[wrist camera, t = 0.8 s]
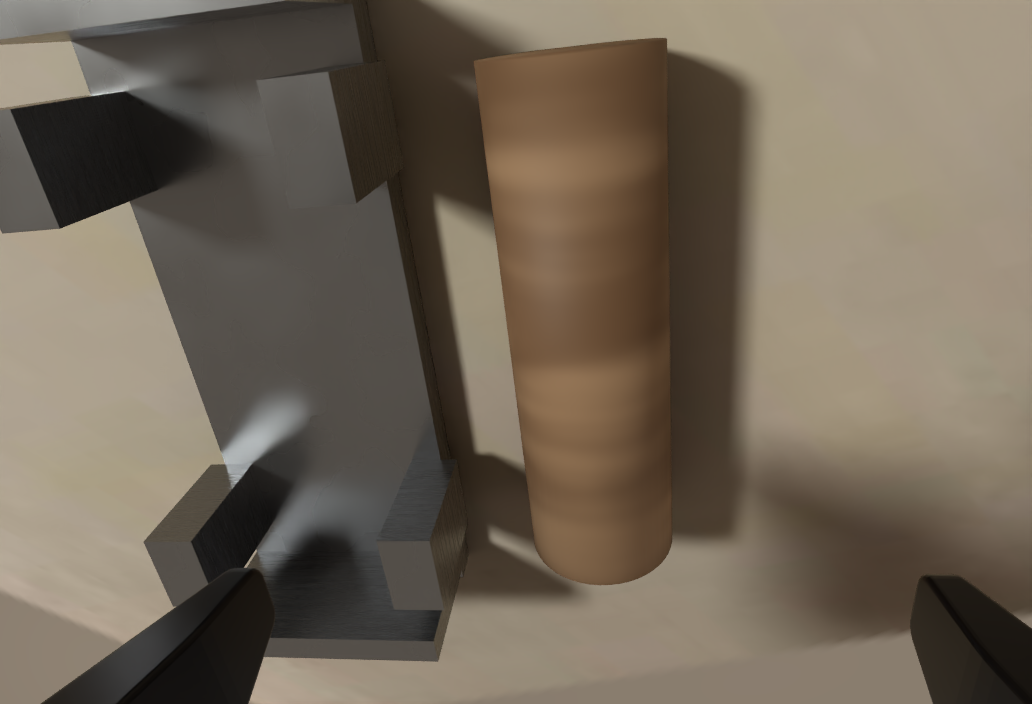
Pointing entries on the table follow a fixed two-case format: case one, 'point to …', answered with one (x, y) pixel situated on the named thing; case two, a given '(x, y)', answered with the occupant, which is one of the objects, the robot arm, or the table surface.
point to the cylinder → (587, 294)
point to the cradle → (267, 297)
